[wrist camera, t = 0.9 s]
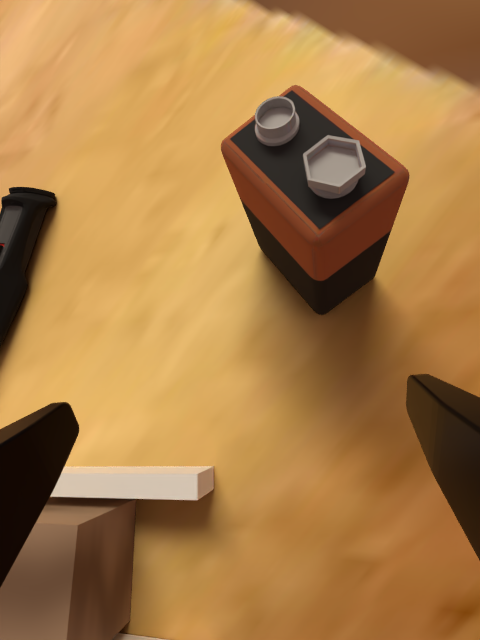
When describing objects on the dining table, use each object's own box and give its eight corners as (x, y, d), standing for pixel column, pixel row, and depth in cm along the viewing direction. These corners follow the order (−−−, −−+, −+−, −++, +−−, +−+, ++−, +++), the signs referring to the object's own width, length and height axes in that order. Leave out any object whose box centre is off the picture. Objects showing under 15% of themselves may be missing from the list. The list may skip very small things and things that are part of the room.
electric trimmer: (-23, 364, 26) (-68, 359, 23) (30, 198, 30) (-3, 175, 27) (11, 369, 25) (-31, 364, 22) (62, 196, 28) (32, 172, 26)
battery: (320, 320, 19) (314, 235, 10) (256, 245, 22) (205, 122, 13) (378, 276, 19) (427, 148, 10) (307, 207, 22) (294, 53, 12)
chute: (216, 678, 16) (196, 727, 13) (-80, 631, 20) (-134, 660, 18) (213, 464, 19) (196, 472, 16) (-46, 465, 23) (-89, 471, 21)
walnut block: (131, 619, 18) (61, 692, 13) (42, 607, 19) (-49, 670, 14) (137, 498, 19) (77, 525, 15) (55, 495, 21) (-23, 519, 16)
